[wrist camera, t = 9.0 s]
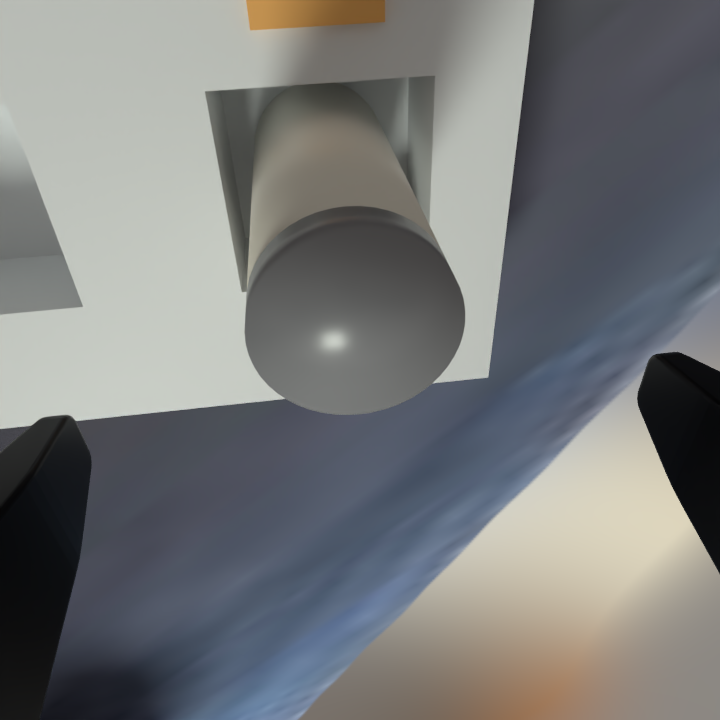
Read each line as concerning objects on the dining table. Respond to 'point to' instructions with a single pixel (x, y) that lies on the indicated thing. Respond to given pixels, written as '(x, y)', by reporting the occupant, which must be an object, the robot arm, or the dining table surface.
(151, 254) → the port box
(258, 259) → the plug
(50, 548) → the robot arm
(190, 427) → the dining table surface
